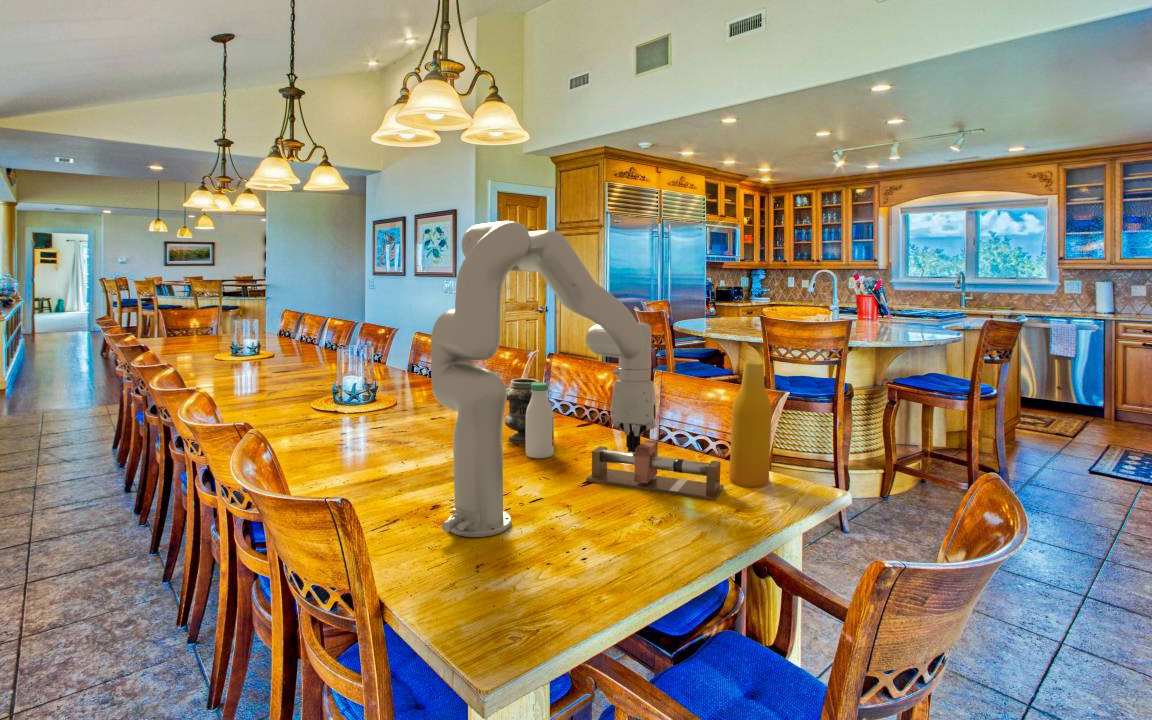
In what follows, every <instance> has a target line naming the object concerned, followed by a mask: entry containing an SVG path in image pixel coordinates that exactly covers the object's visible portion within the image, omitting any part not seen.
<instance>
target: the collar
mask: <svg viewBox="0 0 1152 720" xmlns="http://www.w3.org/2000/svg"><path fill="white" fill-rule="evenodd" d="M658 443H659V441H656V440H648V439H647V440H644V441H643V442H641V443H640V445H639V446H638V447H636V448H635V466H634V473H635V475H634V482H640V483H646V484H647V483H648V482H649V481H650V480H651V479H652V478H653V477H654V476H657V474H658V469H651V468H649V461H650V455H651V456H659V455H658V452H659V451H658V450H659V449H658V447H659V444H658Z"/></svg>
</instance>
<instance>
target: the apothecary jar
mask: <svg viewBox="0 0 1152 720" xmlns="http://www.w3.org/2000/svg"><path fill="white" fill-rule="evenodd" d="M532 383H540V381H539V379H536V378H527V377H525V378H514V379H511V380H510V385H509V386H508V387H507V388H506V392H507V400H508V414H506V416H505V417H504V419H503V423H504V424H505V426H506V427H507V428H508V429H510V430H513V431H516V433H514V434H512V435H510V436H509V437H508V440H509V441H510V442H512V443H518V444H526V410H527V407H528V405H529V402H530V400H531V397H532V392H531V384H532Z"/></svg>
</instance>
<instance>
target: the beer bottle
mask: <svg viewBox="0 0 1152 720" xmlns="http://www.w3.org/2000/svg"><path fill="white" fill-rule="evenodd" d="M765 385H766V384H765V372H764V362H760V361H745V362H744V366H743V372H742V379H741V386H740V389H739V391H738V393H737V394H736V397H735V398H734V401H733V403H732V408H731V427H730V429H731V430H730V432H731V433H730V453H729V470H728V471H729V472H728V476H729V481H730V482H731V483H732V484H733V485H736V486H738V487H743V488H744V487H745V488H752V489H753V488H755V489H757V488H762V487H765V486H767V485H768V483H769V481H770V480H769V479H770V459H771V458H770V457H771V456H770V453H771V435H772V434H771V433H772V416H773V410H772V409H773V408H772V403H771V400H770V398H769V396H768V394H767V391H766V386H765Z"/></svg>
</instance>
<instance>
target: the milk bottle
mask: <svg viewBox="0 0 1152 720" xmlns="http://www.w3.org/2000/svg"><path fill="white" fill-rule="evenodd" d="M531 392H532V397H531V400H530V402H529V405H528V407H527V410H526V443H525V454H526V456H527V457H528V458H531V459H532V458H533V459H546V458H550V457H552V456H553V455H554V450H555V449H554V448H555V443H554V439H555V437H554V435H555V431H554V430H555V429H554V428H555V426H554V425H555V424H554V422H555V421H554V410H553V407H552V404H551V403H550V400H549V397H548V393H549V383H546V382H539V383H532V384H531Z"/></svg>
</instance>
